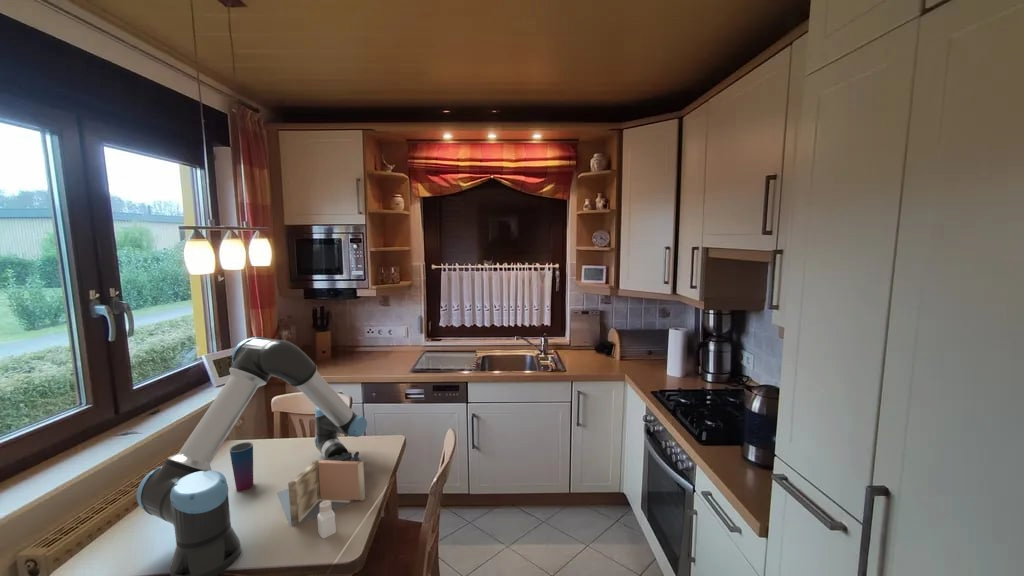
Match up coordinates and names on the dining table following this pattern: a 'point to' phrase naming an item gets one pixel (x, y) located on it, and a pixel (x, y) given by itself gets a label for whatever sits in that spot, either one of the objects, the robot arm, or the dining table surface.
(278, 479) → the dining table surface
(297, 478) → the fixed fence section
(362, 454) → the dining table surface
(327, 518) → the salt shaker
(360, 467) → the pink wooden flat board
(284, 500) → the card
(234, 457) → the cup
